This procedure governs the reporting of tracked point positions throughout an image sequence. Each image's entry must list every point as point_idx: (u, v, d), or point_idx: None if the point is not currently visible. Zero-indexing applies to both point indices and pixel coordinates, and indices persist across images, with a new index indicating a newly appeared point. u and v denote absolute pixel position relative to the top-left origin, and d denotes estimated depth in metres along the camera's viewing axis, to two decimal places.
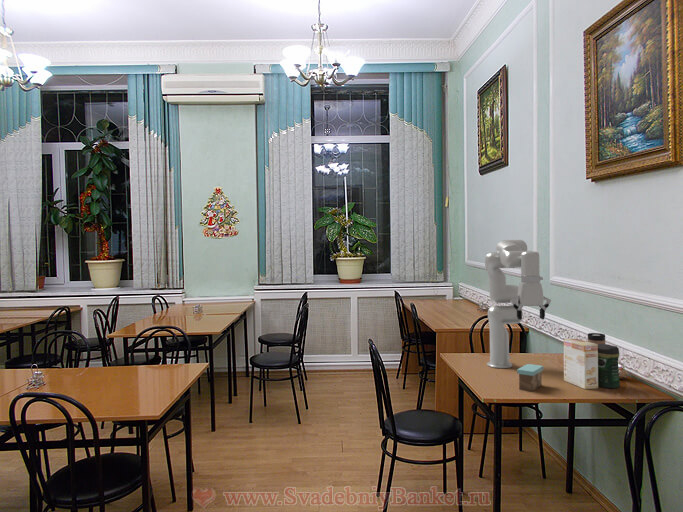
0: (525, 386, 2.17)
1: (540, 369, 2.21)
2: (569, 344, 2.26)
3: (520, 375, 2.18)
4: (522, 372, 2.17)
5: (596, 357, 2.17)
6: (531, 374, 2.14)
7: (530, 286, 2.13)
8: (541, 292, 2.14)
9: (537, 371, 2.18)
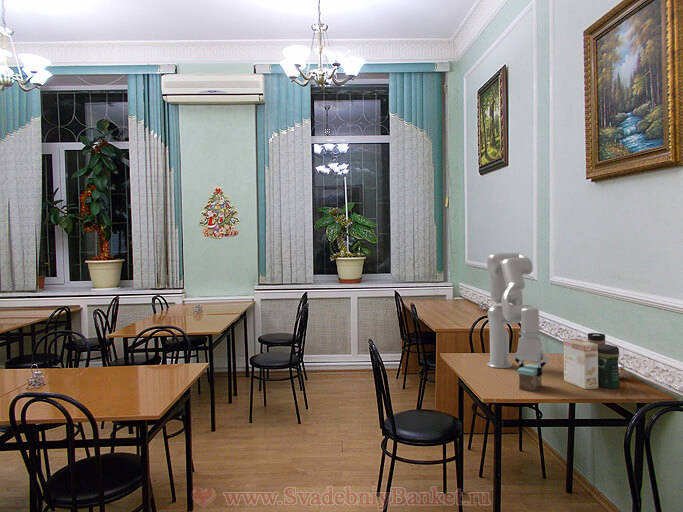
0: (525, 386, 2.17)
1: None
2: (569, 344, 2.26)
3: (520, 375, 2.18)
4: (522, 372, 2.17)
5: (596, 357, 2.17)
6: (531, 374, 2.14)
7: None
8: None
9: None
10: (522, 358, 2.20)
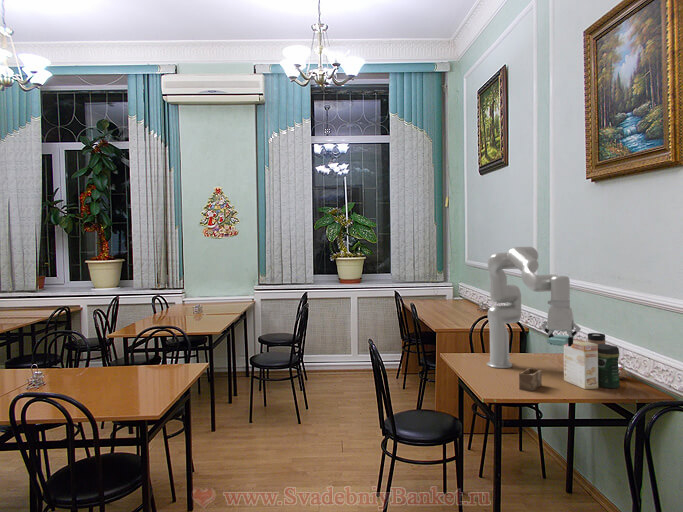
0: (525, 386, 2.17)
1: None
2: None
3: (520, 375, 2.18)
4: (553, 341, 2.12)
5: (596, 357, 2.17)
6: (562, 343, 2.09)
7: None
8: None
9: None
10: (552, 328, 2.15)
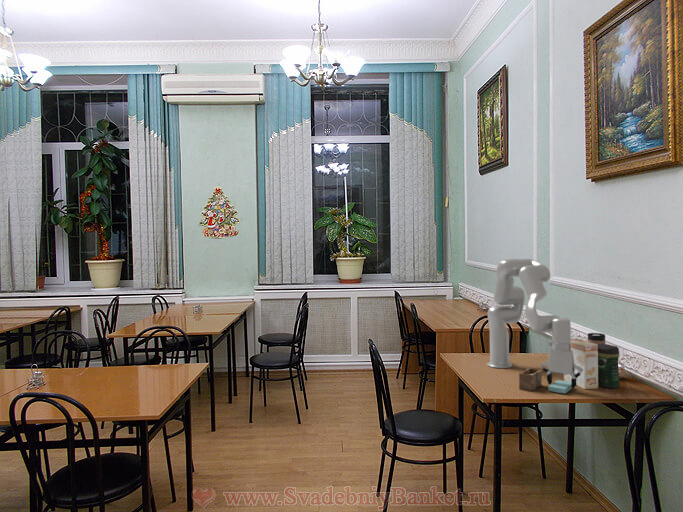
0: (525, 386, 2.17)
1: None
2: None
3: (520, 375, 2.18)
4: (553, 389, 2.12)
5: (596, 357, 2.17)
6: (563, 391, 2.10)
7: None
8: None
9: (569, 388, 2.13)
10: (553, 370, 2.16)
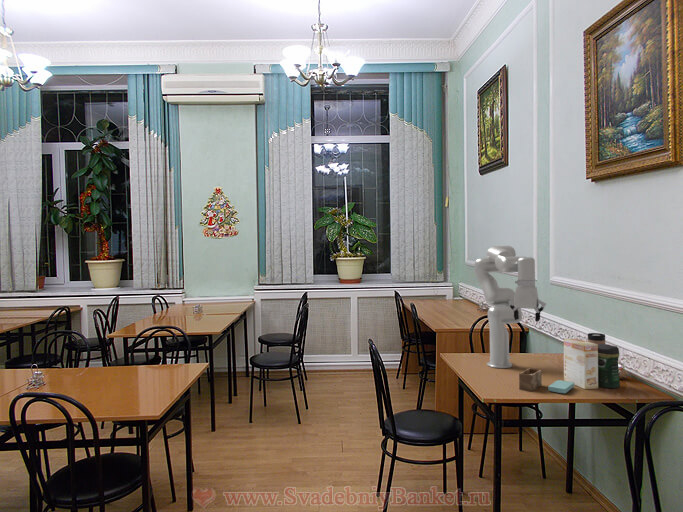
0: (525, 386, 2.17)
1: (571, 386, 2.16)
2: (569, 344, 2.26)
3: (520, 375, 2.18)
4: (553, 389, 2.12)
5: (596, 357, 2.17)
6: (563, 391, 2.10)
7: None
8: None
9: (569, 388, 2.13)
10: (519, 305, 2.31)
